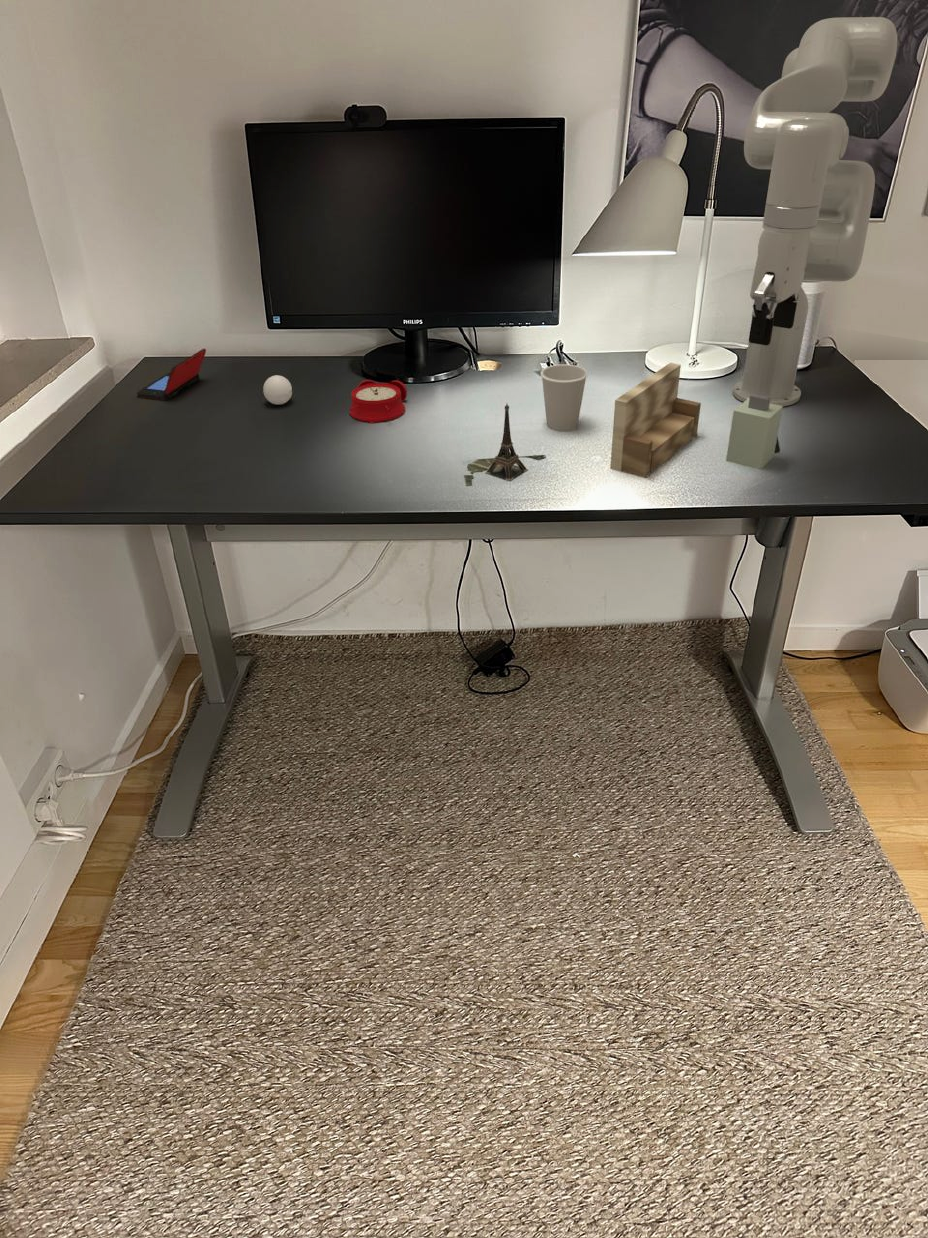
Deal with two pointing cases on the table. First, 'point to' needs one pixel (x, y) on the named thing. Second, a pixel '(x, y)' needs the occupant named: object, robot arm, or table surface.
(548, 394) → the dixie cup
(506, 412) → the eiffel tower figurine
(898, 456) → the table surface
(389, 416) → the alarm clock
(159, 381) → the handheld game console
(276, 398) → the white ball
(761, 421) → the cabinet box
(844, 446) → the table surface
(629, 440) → the brown toy sofa
